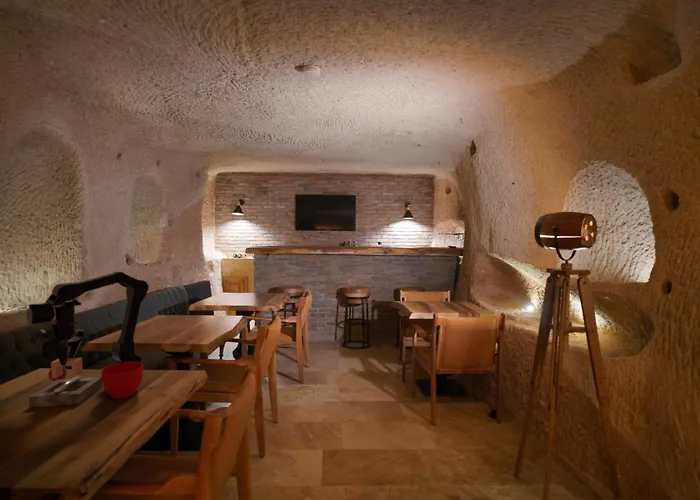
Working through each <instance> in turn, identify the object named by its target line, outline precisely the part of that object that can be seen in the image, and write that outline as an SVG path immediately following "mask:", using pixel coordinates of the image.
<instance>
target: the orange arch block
mask: <svg viewBox="0 0 700 500" xmlns="http://www.w3.org/2000/svg"><path fill="white" fill-rule="evenodd" d="M50 367H51V368H50V369H51V372H52V378H57V377H59V376H61V375H62V374H63V366H62V365H61V363H60V361H59V359H58V358H57V359H55V360H53V361H51V362H50ZM64 367H71V377H72V378H74V377H77V376H79V375H80V376H81V375H82V374H83V373H84V371H83V368H84V367H83V357H74V358H68V359H67V362H66V365H64Z"/></svg>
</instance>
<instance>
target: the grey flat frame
mask: <svg viewBox="0 0 700 500" xmlns="http://www.w3.org/2000/svg"><path fill="white" fill-rule="evenodd" d="M71 379H72V378H64V379H60V380H56V381H52V382H51V383H50V384H47V385H46V386H45V387H43V388H41V389H39V390H38V391H36V392H35V393H33V394H31V395H29V396H28V404H29V407H28V408H41V407H42V408H44V407H45V408H46V407H58V406H72V405H75V406H76V405H81V404H82V403H83V402H84V401H86V400H87V399H88V398H89V397H91V396H92V395H93V394H95V393H96V392H98V391H99V390H100V389H101V388H102V387H103V382H102V376H98V377H81V378H80V379H79V380H77V381H76V382H74V383H73V384H71V385H70V386H68V387H67V388H65V389H64V390H62V391H61V392H59V393H58V394H54V393H53V391H54V390H55V389H57V388H58V387H60V386H61V385H63V384H64V383H66V382H68V381H69V380H71Z"/></svg>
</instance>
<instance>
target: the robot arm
mask: <svg viewBox="0 0 700 500" xmlns="http://www.w3.org/2000/svg"><path fill="white" fill-rule="evenodd" d="M115 284H118V285H120V286H122V287H123V288H126V289H125V290H126V293H125V294H126V300H127V303H126V308H125V312H124V316H123V317H124V318H123V322H122V327H121V331H120V336H119V338H118V340H117V341H112V346H111V350H110V353H111V357H112V358H113V359H114V360H116V362H117V363H123V362H140V363H142V358H141V357H140V356H138V355H137V354H136V344H135V340H134V338H135V333H136V328H137V323H138V318H139V313H140V309H141V304H142V302H143V300H144V299H145V298H146V297H147V293H148V291H149V288H150V287H149V286H150V285H149V284H148V282H147V281H146V280H143V279H137V278H135V277H133V276H130V275H128V274H126V273H124V272H123V271H114V272H111V273H108V274H104V275H101V276H100V275H99V276H97V277H94V278H93V277H92V278H90V279H87V280H82V281H73V282H64V283H58V284H56V285H54V286H53V288H52V291H51V294H50V296H48V297H47V299H46V300H45V301H44V302H42V303H29V304H28V308H27V312H26V315H25V316H26V321H27V324H28V325H29V326H33V325H38V324H46V323H51V322H52V320H53V321H55V322H54V323H52V325H51V328H49V329H47V330H45V329H44V328H42V329H39V330H36V331H35V332H34V333H35V334H34V336H35V337H34V339H35V340H36V341H39V343H41V344H40V351H42V352H45V351H51V352H52V351H53V352H54V353H55V355H56V356H57V357H56V358H57V359H59V361H60V363H61V365H62V366H64V365H66V362H67V359H68V358H76V357H75V356H76V354H77V352H78V351H79V348H80V347H81V345H82V343H83V341H84V339H86V338H87V337H89V331H88V329H86V328H83V329H82V328H81V329H77V327H76V325H77V324H79V320H76V309H75V307H77V306H82V302H79V301H78V300H77V298H78V297H81V296H82V295H83V294H85V293H87V292H91V291H94V290H97V289H101V288H105V287H107V286H110V285H115ZM54 319H55V320H54ZM80 337H82V338H83V339H80ZM64 367H65V366H64Z"/></svg>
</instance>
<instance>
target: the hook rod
mask: <svg viewBox="0 0 700 500" xmlns="http://www.w3.org/2000/svg"><path fill="white" fill-rule="evenodd" d="M80 378H82V377H81V374H80V375H79V376H77V377H72V378H70V379H71V380H69V381H68V382H66V383H64V384H63V385H61V386H60V387H58V388H57V389H55V390H54V391H53V393H54V394H58V393H59V392H61V391H62V390H64V389H65V388H67V387H68V386H70V385H71V384H73V383H74V382H76V381H77V380H79V379H80Z"/></svg>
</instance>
